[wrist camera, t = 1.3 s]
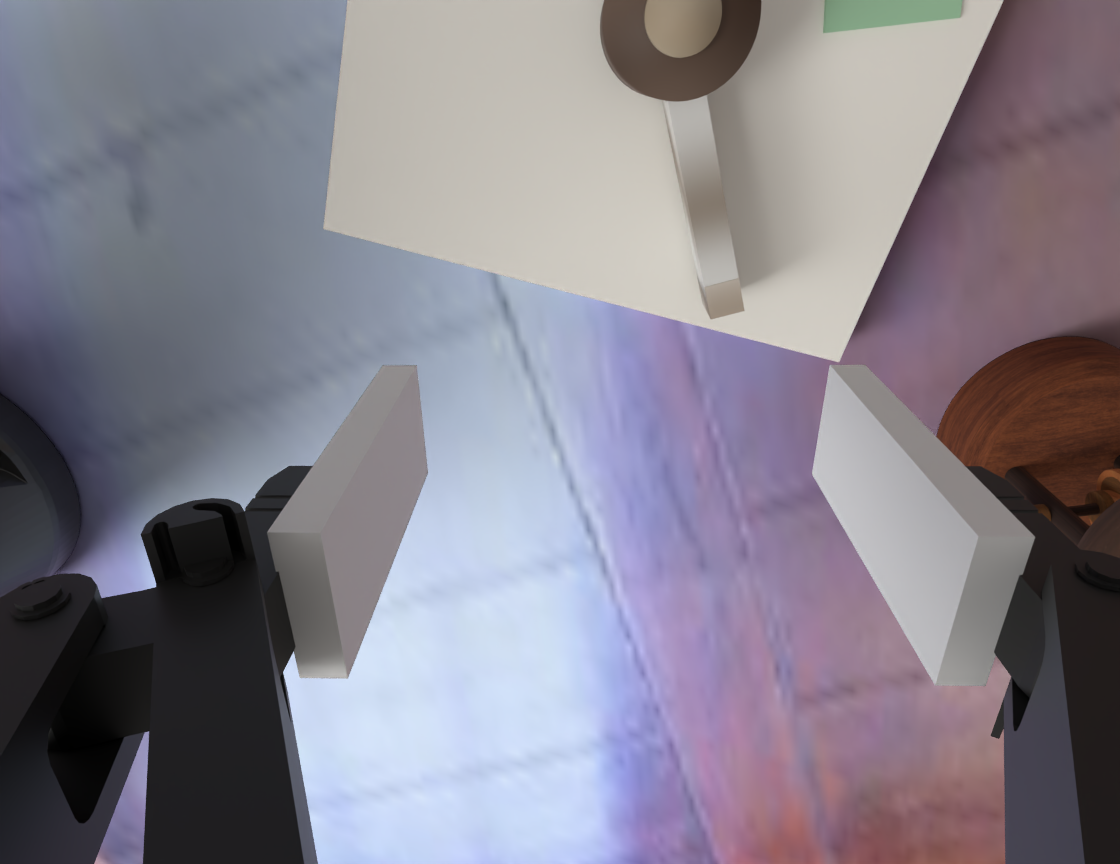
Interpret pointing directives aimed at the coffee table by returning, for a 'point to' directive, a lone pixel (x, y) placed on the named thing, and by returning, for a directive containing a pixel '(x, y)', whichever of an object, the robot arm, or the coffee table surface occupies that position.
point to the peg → (688, 109)
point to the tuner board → (648, 151)
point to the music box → (1049, 432)
